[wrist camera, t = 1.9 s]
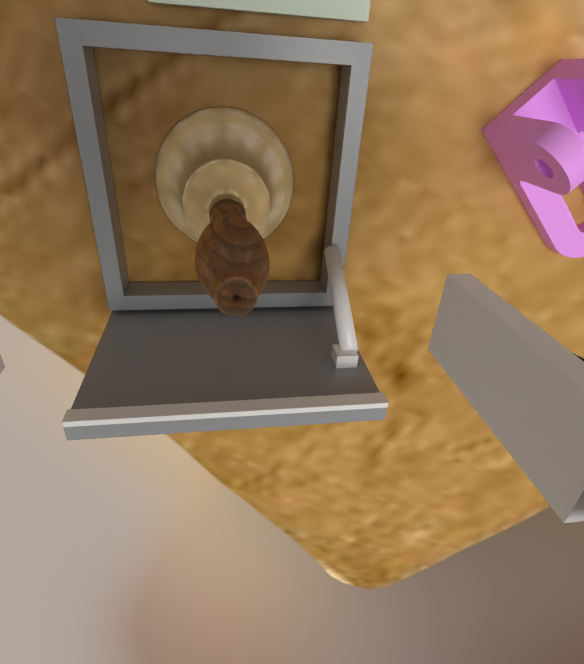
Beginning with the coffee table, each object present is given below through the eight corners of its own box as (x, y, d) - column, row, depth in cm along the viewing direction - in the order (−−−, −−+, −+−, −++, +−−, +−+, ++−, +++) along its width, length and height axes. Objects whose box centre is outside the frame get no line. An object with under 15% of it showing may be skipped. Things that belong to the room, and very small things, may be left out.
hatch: (67, 21, 21) (-72, -23, 11) (362, 45, 23) (474, 28, 13) (118, 311, 29) (67, 440, 19) (330, 307, 32) (384, 419, 22)
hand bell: (124, 153, 24) (14, 258, 11) (251, 76, 23) (301, 90, 10) (204, 269, 29) (195, 447, 15) (314, 210, 28) (408, 343, 14)
